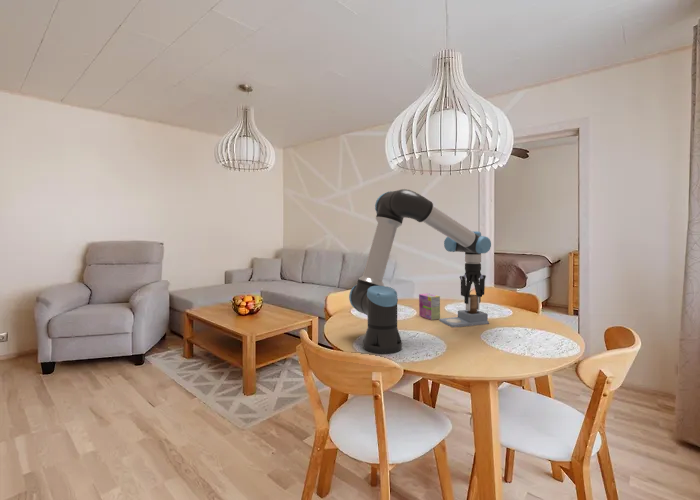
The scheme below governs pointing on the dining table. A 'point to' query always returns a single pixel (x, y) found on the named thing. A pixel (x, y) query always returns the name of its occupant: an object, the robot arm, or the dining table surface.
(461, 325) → the socket board
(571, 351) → the dining table surface
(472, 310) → the peg
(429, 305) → the box
